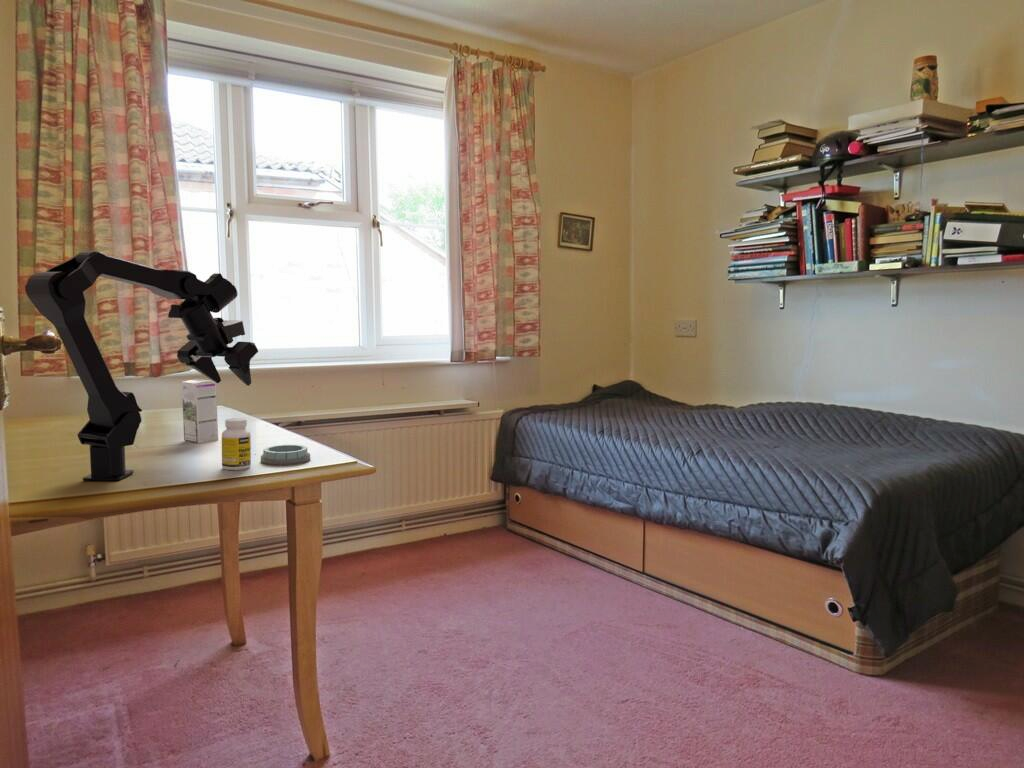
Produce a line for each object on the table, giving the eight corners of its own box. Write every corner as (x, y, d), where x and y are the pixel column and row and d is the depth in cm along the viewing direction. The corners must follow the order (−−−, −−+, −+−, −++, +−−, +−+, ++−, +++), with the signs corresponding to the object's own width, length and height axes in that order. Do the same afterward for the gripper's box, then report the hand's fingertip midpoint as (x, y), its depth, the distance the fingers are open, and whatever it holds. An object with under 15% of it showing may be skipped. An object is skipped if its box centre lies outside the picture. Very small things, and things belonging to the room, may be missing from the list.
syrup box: (219, 440, 172) (217, 380, 170) (197, 444, 167) (195, 382, 165) (204, 437, 175) (203, 378, 173) (182, 441, 170) (180, 380, 168)
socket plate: (304, 465, 146) (304, 453, 146) (254, 465, 146) (254, 453, 145) (314, 455, 156) (314, 444, 156) (267, 455, 156) (267, 444, 155)
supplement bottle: (241, 471, 140) (240, 422, 139) (216, 469, 141) (215, 420, 140) (256, 465, 146) (255, 418, 145) (232, 464, 147) (231, 416, 146)
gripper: (257, 305, 152) (287, 363, 161) (195, 303, 160) (227, 360, 169) (223, 334, 145) (256, 394, 153) (160, 331, 153) (195, 389, 162)
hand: (234, 383), depth 160 cm, fingers open, 9 cm apart
